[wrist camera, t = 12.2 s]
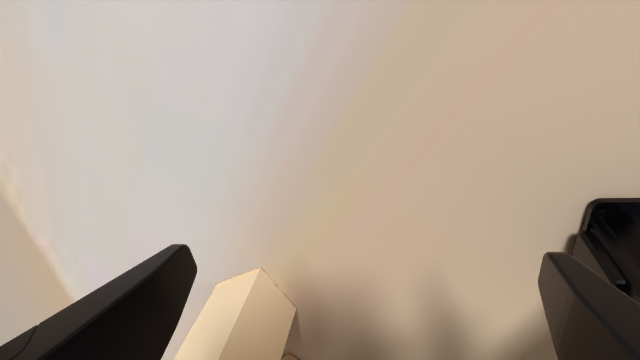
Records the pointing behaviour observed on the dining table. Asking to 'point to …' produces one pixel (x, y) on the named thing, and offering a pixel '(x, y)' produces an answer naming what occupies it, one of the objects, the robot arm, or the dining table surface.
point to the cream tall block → (241, 321)
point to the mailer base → (289, 357)
